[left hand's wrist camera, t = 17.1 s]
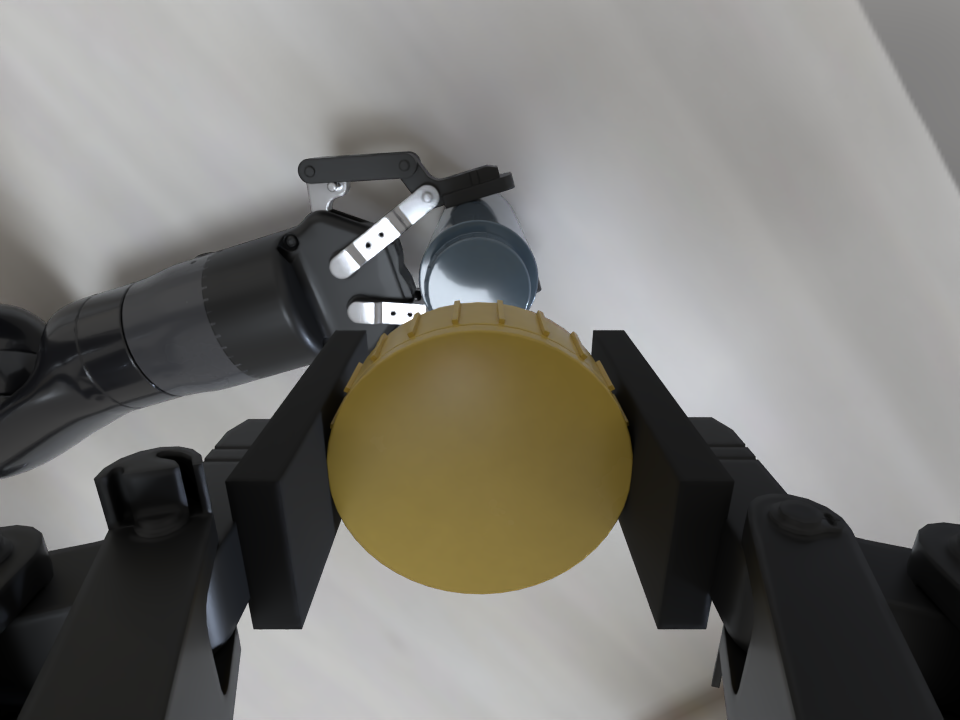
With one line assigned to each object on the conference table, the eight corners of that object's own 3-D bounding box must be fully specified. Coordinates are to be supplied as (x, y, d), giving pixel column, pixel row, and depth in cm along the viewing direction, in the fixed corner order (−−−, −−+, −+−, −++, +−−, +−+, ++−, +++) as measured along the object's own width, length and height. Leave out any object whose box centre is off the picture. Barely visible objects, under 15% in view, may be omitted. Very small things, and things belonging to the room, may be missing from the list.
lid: (377, 553, 13) (362, 612, 12) (313, 320, 11) (285, 352, 10) (623, 523, 13) (644, 580, 11) (605, 276, 11) (627, 302, 9)
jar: (464, 172, 36) (454, 200, 21) (532, 214, 36) (566, 268, 22) (426, 242, 37) (392, 312, 23) (492, 280, 38) (500, 370, 24)
